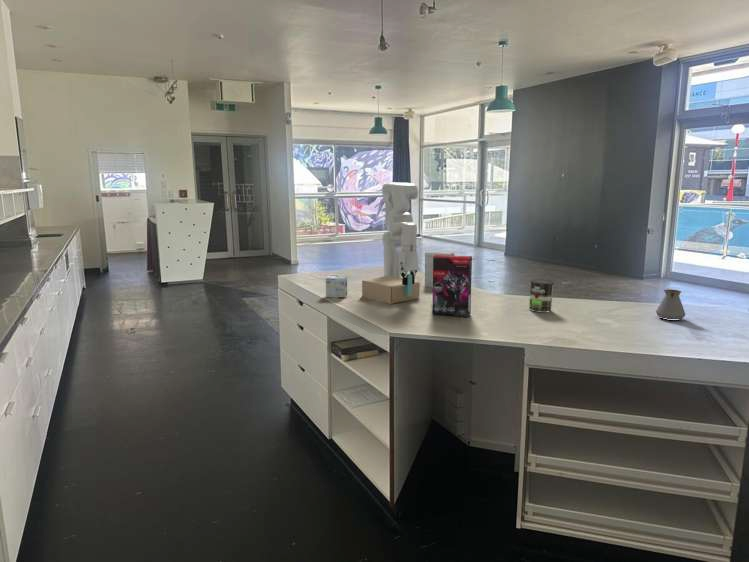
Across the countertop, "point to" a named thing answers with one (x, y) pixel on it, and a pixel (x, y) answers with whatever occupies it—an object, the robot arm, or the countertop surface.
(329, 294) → the light bulb box
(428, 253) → the hard drive box
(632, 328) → the countertop surface
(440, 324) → the countertop surface
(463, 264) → the graphics card box
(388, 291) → the sleeve
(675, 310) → the coffee pot
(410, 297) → the drawer with teal handle
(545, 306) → the coffee can
